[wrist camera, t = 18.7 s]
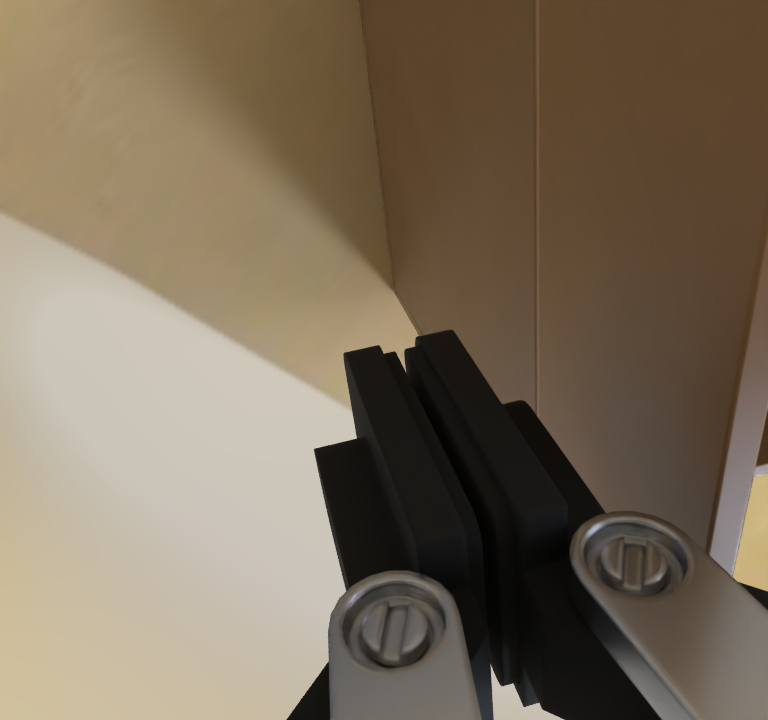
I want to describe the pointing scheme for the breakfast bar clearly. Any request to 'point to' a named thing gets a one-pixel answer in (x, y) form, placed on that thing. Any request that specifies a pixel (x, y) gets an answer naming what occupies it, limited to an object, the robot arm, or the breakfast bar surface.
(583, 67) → the flap
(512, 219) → the carton
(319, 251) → the breakfast bar surface
